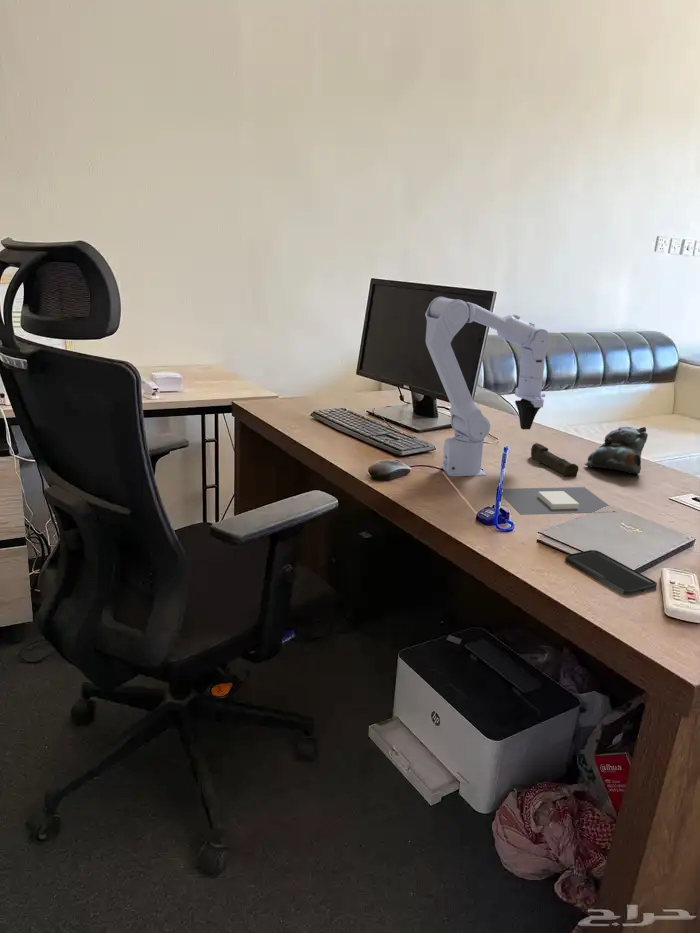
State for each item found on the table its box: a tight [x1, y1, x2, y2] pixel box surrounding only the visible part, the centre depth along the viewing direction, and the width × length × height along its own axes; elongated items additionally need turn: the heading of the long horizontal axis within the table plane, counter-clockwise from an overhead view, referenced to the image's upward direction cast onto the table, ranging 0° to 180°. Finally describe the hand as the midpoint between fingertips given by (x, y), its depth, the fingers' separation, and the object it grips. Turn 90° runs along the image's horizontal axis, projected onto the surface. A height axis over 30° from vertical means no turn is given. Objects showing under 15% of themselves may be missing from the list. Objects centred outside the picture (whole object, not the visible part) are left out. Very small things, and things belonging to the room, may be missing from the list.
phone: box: [564, 549, 658, 596], centre depth 119 cm, size 8×1×15 cm
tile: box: [538, 491, 579, 509], centre depth 151 cm, size 6×1×8 cm
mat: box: [495, 486, 610, 516], centre depth 153 cm, size 22×16×1 cm
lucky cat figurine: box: [584, 426, 649, 476], centre depth 175 cm, size 15×12×14 cm
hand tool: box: [530, 442, 579, 478], centre depth 177 cm, size 19×4×5 cm, turn 14°
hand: (525, 428), depth 174 cm, fingers closed
